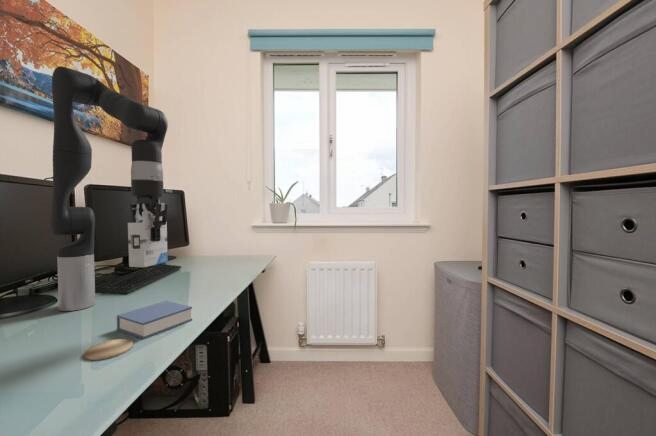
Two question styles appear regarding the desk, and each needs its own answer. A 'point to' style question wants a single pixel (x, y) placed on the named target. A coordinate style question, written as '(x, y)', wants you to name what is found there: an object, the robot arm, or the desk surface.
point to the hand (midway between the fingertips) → (148, 240)
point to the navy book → (153, 319)
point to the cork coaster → (108, 349)
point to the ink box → (146, 244)
